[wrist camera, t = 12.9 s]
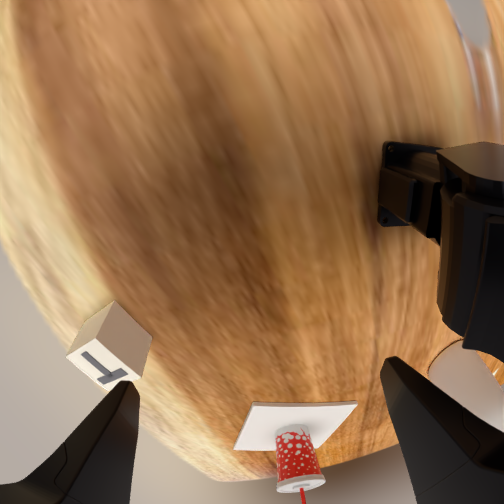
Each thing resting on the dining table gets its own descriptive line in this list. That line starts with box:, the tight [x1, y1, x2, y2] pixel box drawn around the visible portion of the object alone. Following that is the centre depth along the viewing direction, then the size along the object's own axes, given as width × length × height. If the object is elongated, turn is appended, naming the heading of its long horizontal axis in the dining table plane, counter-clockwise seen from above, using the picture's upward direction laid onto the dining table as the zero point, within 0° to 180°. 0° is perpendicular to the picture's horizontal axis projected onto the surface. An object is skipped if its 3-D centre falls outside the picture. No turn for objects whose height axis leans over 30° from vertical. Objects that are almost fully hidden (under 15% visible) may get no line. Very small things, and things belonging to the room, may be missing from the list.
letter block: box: [66, 300, 153, 391], centre depth 21 cm, size 5×5×5 cm
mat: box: [233, 401, 358, 451], centre depth 33 cm, size 14×14×1 cm
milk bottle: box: [428, 340, 504, 432], centre depth 21 cm, size 8×8×20 cm
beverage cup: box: [275, 424, 325, 504], centre depth 27 cm, size 6×6×14 cm
